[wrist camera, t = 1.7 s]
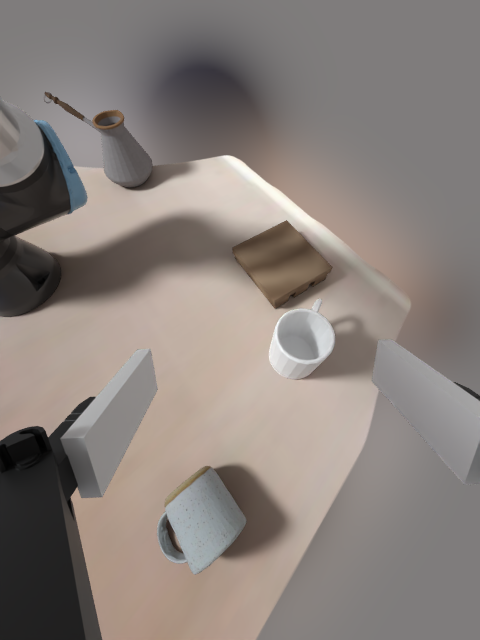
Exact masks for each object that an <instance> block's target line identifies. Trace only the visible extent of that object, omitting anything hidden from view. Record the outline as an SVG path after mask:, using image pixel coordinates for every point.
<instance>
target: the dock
mask: <svg viewBox="0 0 480 640" xmlns="http://www.w3.org/2000/svg"><path fill="white" fill-rule="evenodd" d="M233 254H234V255H235V258H236V260H237V261H238V262H239V264H240V265H241V266H242V267H243V269H244V270H245V271H246V273H247V274H248V275H249V276H250V278H251V279H252V280H253V281H254V283H255V284H256V285H257V287H258V288H259V289H260V290H261V292H262V293H263V294H264V295H265V297H266V298H267V299H268V301H269V302H270V303H271V304H272V306H273V307H274V308H277V307H279V306H280V305H282V304H284V303H285V302H287V301H288V299H289V296H290V295H293V296H294V297H296V296H297V295H299V294H301V293H302V292H304V291H306V290H307V288H308V286H309V284H311V285H312V286H314V285H316V284H318V283H320V282H321V281H323V280H325V278H326V276H327V274H328V273H329V272H330V271H331V269H332V266H331V265H330V264H329V263H328V262H327V261H326V260H325V259H324V258H323V257H322V256H321V255H320V254H319V253H318V252H317V251H316V250H315V249H314V248H313V247H312V246H311V245H310V244H309V243H308V242H307V241H306V240H305V239H304V238H303V237H302V236H301V235H300V234H299V233H298V231H297V230H296V229H295V228H294V227H293V226H292V225H291V224H290V223H289V222H288V221H287V220H286V221H284V222H282V223H280V224H278V225H277V226H275V227H273V228H271V229H269V230H267V231H265V232H263V233H261V234H259V235H257V236H255V237H253V238H251V239H249V240H247V241H245V242H243V243H241V244H239V245H237V246H235V247H233Z"/></svg>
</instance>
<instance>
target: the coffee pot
mask: <svg viewBox="0 0 480 640" xmlns="http://www.w3.org/2000/svg"><path fill="white" fill-rule="evenodd" d="M45 96H47V97H48V98H49V99H51V100H50V101H49V102H46V103H50V102H51V101H52V100H53V101H54V103H56V104H59V105H60V106H61V107H62V108H64V109H65V110H66V111H67V112H69V113H71V114H72V115H74V116H76V117H77V118H79V119H81V120H82V121H85V122H86V123H88V124H89V125H90V126H92V127H93V128H95V129H96V130H98V131H99V132H100V133H101V140H102V151H103V162H104V172H105V174H106V176H107V177H108V178H109V179H110V180H111V181H112V182H114V183H116V184H118V185H122V186H124V187H136V186H139V185H141V184H143V183H144V182H145V181H146V180H147V179H148V177H149V175H150V174H151V171H152V160H151V158H150V157H149V156H148V154H147V153H146V152H145V151H144V149H143V148H142V147H141V146H140V145H139V143H138V142H137V141H136V140H135V139H134V137H133V136H132V135H131V134H130V133H129V131H128V130H127V129H126V128H125V127H124V123H123V121H124V116H123V114H122V113H121V112H120V111H118V110H111V111H104V112H101V113H99V114H97V115H96V116H95V117H94V118H93V122H91V121H90V120H88V119H87V118H85V117H84V116H83V115H81V114H80V113H79V112H77V111H76V110H75V109H73V108H72V107H71V106H69V105H68V104H66V103H64V102H62V101H60V100H59V99H58V98H57V97H53V96H52V95H51V93H47V92H45V95H44V101H45Z"/></svg>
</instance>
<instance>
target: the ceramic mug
mask: <svg viewBox="0 0 480 640" xmlns="http://www.w3.org/2000/svg"><path fill="white" fill-rule="evenodd" d="M165 509H166V511H165V512H164V514H163V515H162V516H161V518H160V520H159V522H158V528H157V536H158V541H159V545H160V548H161V550H162V552H163V554H164V555H165V557H166V558H167V559H168V560H170V561H171V562H174V563H186V562H188V565H189V567H190V569H191V571H192V573H193V574H198V573H200V572H202V571H203V570H204V569H206V568H207V567H208V566H210V565H211V564H212V563H213V562H214V561H215V560H216V559H217V558H218V557H219V556H220V555H221V554H222V553H223V552H224V551H225V550H226V549H227V548H228V547H229V546H230V545H231V544H232V543H233V542H234V541H235V539H236V538H237V537H238V535H239V534H240V533H241V531H242V530H243V528H244V526H245V524H246V518H245V516H244V514H243V513H242V511H241V510H240V509H239V507H238V505H237V504H236V502H235V501H234V499H233V497H232V496H231V494H230V493H229V491H228V490H227V488H226V487H225V485H224V484H223V482H222V480H221V479H220V477H219V476H218V474H217V473H216V472H215V471H214V470H213V468H211V467H210V466H205V467H203V468H202V469H200V470H199V471H198V472H196V473H195V474H194V475H192V476H191V477H190V478H189V479H187V480H186V481H185V482H184V483H182V484H181V485H180V486H179V487H178V488H177V489H176V490H174V491H173V492H172V493H171V494H170V495H169V496H168V497H167V498H166V501H165ZM167 517H168V519H169V522H170V524H171V526H172V528H173V530H174V532H175V534H176V536H177V539H178V541H179V543H180V546H181V548H182V551H183V553H184V554H183V553H180V552H178V551H177V550H176V549H175V548H174V547H173V545H172V543H171V540H170V537H169V535H168V530H167V528H166V521H167Z"/></svg>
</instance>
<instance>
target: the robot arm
mask: <svg viewBox="0 0 480 640" xmlns="http://www.w3.org/2000/svg"><path fill="white" fill-rule="evenodd" d="M86 202H87V193H86V190H85V188H84V186H83V183H82V181H81V179H80V177H79V175H78V173H77V171H76V170H75V168H74V166H73V164H72V162H71V160H70V158H69V156H68V154H67V152H66V150H65V149H64V147H63V145H62V144H61V142H60V140H59V138H58V137H57V135H56V133H55V132H54V130H53V129H52V127H51V126H50V125H49V124H48V123H47V122H46V121H43V120H40V121H38V120H33V119H32V118H31V117H30V116H29V115H28V114H26V112H24V111H23V110H22V109H20V108H19V107H17V106H15V105H13V104H11V103H9V102H6V101H3V100H2V98H1V97H0V316H16V315H20V314H23V313H26V312H29V311H31V310H33V309H35V308H36V307H38V306H39V305H41V304H42V303H43V302H45V301H46V300H47V299H48V298H49V297H50V296H51V295H52V293H53V292H54V291H55V289H56V287H57V286H58V283H59V281H60V276H61V269H60V266H59V264H58V262H57V261H56V260H55V259H54V258H53V257H52V256H51V255H50V254H49V253H48V252H46V251H45V250H43V249H42V248H39V247H37V246H35V245H33V244H31V243H29V242H27V241H25V240H23V239H20V238H18V237H16V236H15V235H17V234H19V233H21V232H24V231H26V230H29V229H31V228H34V227H36V226H39V225H41V224H44V223H46V222H49V221H51V220H54V219H56V218H59V217H61V216H64V215H66V214H71V213H72V212H73V211H74V210H76V209H78V208H80V207H82V206H84V205H85V204H86ZM372 382H373V383H374V384H375V385H376V386H377V388H378V389H379V390H380V391H381V392H382V393H383V394H384V395H385V396H386V398H387V399H388V400H389V401H390V402H391V403H392V404H393V405H394V407H395V408H396V409H397V410H398V411H399V412H400V413H401V414H402V415H403V417H404V418H405V419H406V420H407V421H408V422H409V423H410V424H411V425H412V427H413V428H414V429H415V430H416V431H417V432H418V433H419V435H420V436H421V437H422V438H423V439H424V440H425V441H426V442H427V444H428V445H429V446H430V447H431V448H432V449H433V450H434V451H435V452H436V453H437V455H438V456H439V457H440V458H441V459H442V460H443V461H444V462H445V464H446V465H447V466H448V467H449V468H450V469H451V470H452V471H453V473H454V474H455V475H456V476H457V477H458V478H459V479H460V480H461V482H462V483H463V484H480V396H479V395H478V394H476V393H475V392H473V391H472V390H470V389H469V388H467V387H464V386H462V385H460V384H458V383H456V382H452V381H450V380H449V379H447V378H446V377H445V376H443V375H442V374H440V373H439V372H438V371H436V370H435V369H433V368H432V367H430V366H429V365H427V364H426V363H425V362H423V361H422V360H420V359H419V358H417V357H416V356H415V355H413V354H412V353H410V352H409V351H408V350H406V349H405V348H403V347H402V346H400V345H399V344H398V343H396V342H395V341H393V340H392V339H385V340H378V344H377V350H376V356H375V363H374V369H373V376H372ZM157 390H158V388H157V383H156V377H155V371H154V366H153V360H152V354H151V349H137V350H136V352H135V353H134V354H133V355H132V356H131V357H130V359H129V360H128V361H127V362H126V363H125V364H124V365H123V367H122V368H121V369H120V370H119V371H118V372H117V374H116V375H115V376H114V377H113V378H112V379H111V381H110V382H109V383H108V384H107V385H106V386H105V388H104V389H103V390H102V391H101V392H100V393H99V394H98V396H97V397H89V398H88V399H86V400H85V401H83V402H82V403H80V404H79V405H78V406H77V407H76V408H75V409H74V410H73V411H72V412H71V414H70V415H69V416H68V417H67V418H66V419H65V421H64V422H62V423H61V424H60V425H59V427H58V428H57V429H56V430H55V431H54V432H53V433H52V434H51V435H50V436H49V437H47V434H46V431H45V430H44V428H43V427H39V426H34V427H28V428H25V429H21V430H19V431H17V432H14V433H12V434H10V435H9V436H7V437H6V438H4V439H3V440H1V441H0V640H102V637H101V632H100V628H99V623H98V618H97V614H96V609H95V604H94V600H93V595H92V591H91V586H90V581H89V577H88V572H87V568H86V563H85V558H84V554H83V549H82V545H81V540H80V535H79V531H78V526H77V521H76V517H75V512H74V508H73V503H72V501H71V498H70V497H71V496H72V494H73V492H74V491H75V489H76V488H77V487H78V490H79V493H80V495H81V498H94V497H103V495H104V493H105V491H106V489H107V487H108V485H109V483H110V481H111V479H112V477H113V475H114V473H115V471H116V470H117V468H118V466H119V464H120V462H121V460H122V458H123V456H124V454H125V452H126V450H127V448H128V446H129V444H130V442H131V440H132V438H133V436H134V435H135V433H136V431H137V429H138V427H139V425H140V423H141V421H142V419H143V417H144V415H145V413H146V411H147V409H148V407H149V405H150V403H151V401H152V400H153V398H154V396H155V394H156V392H157Z"/></svg>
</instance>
